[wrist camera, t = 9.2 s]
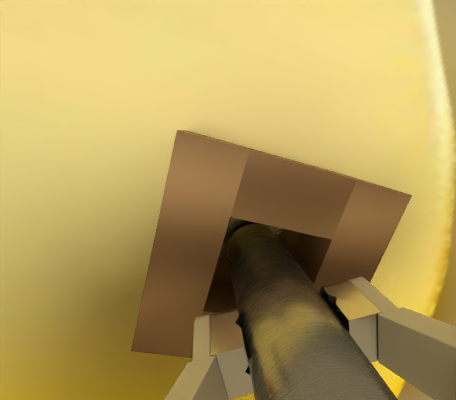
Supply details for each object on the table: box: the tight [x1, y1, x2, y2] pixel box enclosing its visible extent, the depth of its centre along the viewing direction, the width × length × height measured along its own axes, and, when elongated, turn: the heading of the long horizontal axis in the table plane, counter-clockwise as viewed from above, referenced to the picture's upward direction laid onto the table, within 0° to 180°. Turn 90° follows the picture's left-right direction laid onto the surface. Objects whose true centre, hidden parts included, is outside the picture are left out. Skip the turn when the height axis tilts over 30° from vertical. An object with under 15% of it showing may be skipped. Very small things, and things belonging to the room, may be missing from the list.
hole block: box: [131, 130, 412, 358], centre depth 13 cm, size 10×10×5 cm
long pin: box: [226, 224, 398, 400], centre depth 7 cm, size 3×3×12 cm
